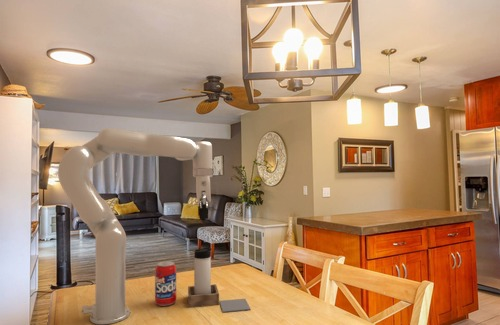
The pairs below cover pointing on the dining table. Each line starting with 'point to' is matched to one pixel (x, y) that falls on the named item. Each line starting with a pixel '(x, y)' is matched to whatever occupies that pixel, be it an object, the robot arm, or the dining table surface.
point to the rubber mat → (234, 305)
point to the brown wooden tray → (203, 297)
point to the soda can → (165, 283)
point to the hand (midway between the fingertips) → (203, 217)
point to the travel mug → (202, 271)
